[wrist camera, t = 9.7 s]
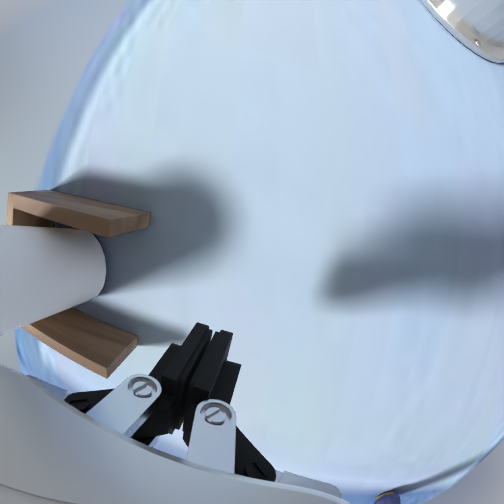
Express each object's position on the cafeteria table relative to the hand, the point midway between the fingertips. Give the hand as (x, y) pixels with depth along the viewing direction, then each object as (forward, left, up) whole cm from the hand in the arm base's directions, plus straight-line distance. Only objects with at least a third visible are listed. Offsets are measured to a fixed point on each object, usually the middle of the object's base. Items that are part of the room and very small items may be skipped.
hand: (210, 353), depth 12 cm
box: (+1, -13, -7) cm, 14 cm away
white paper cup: (+1, -13, -7) cm, 14 cm away
